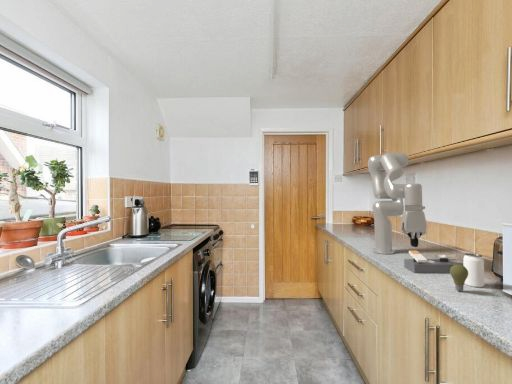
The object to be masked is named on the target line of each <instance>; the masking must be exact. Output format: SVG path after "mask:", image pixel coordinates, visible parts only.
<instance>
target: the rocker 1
mask: <svg viewBox="0 0 512 384" xmlns="http://www.w3.org/2000/svg"><path fill="white" fill-rule="evenodd" d="M408 254H409V255H410V256H411V257H412V259H413V258H414V259H415V260H416V261H417V262H427V259H428V258H426V257H425V256H423V254H422V253H420V251H418V250H408Z"/></svg>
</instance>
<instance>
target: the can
mask: <svg viewBox="0 0 512 384" xmlns="http://www.w3.org/2000/svg"><path fill="white" fill-rule="evenodd" d="M462 260H463V261H462V262H463V266H464V267H465V268H466V269H467V270H468V277H467V279H466V280H465V283H464V285H466V286H468V287H473V288H477V289H478V288H484V287H485V260H484V258H483V255H482V254H479V253H471V252H469V253H468V252H467V253H464V256H463V259H462Z"/></svg>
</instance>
